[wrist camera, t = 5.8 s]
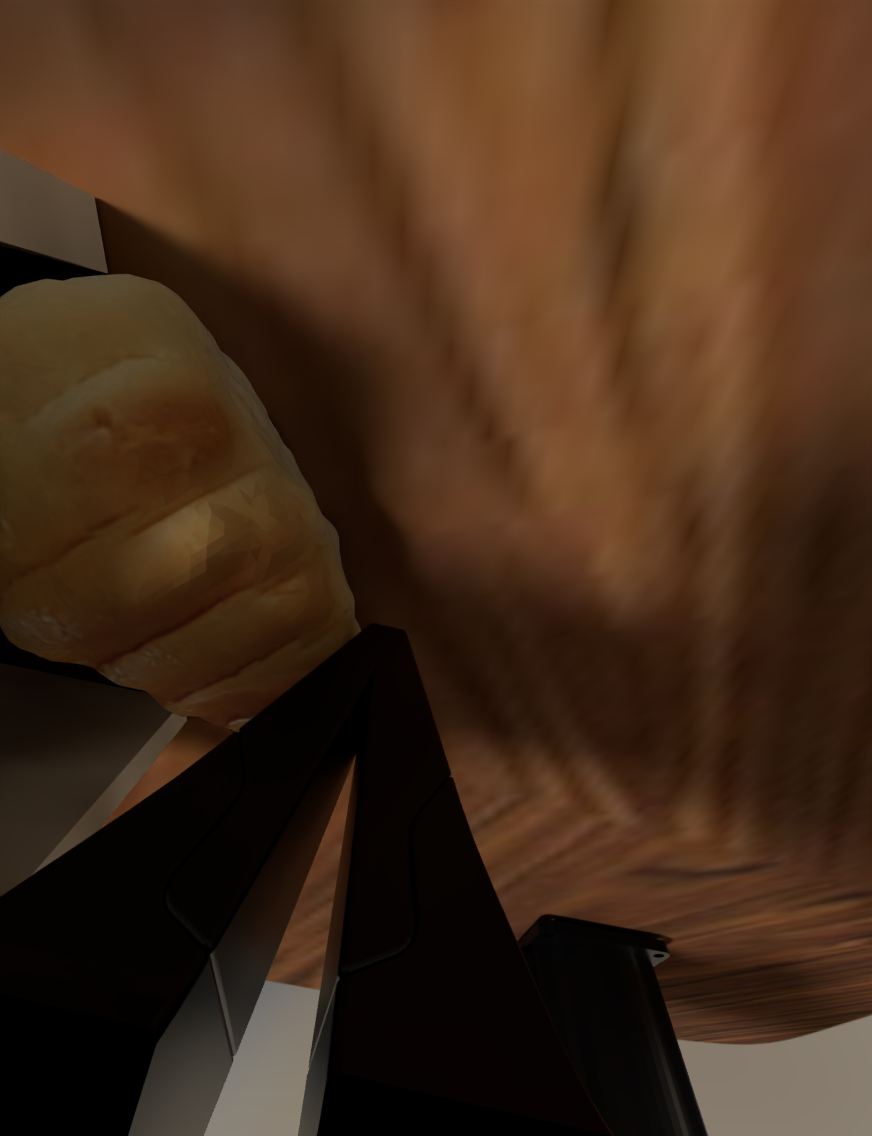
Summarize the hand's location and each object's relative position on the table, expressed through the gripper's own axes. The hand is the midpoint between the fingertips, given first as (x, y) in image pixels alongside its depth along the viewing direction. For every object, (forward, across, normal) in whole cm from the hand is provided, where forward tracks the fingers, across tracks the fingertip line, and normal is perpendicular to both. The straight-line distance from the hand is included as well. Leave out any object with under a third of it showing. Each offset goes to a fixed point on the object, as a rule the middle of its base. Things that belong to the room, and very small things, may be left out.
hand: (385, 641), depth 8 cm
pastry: (+2, +4, -1) cm, 5 cm away
